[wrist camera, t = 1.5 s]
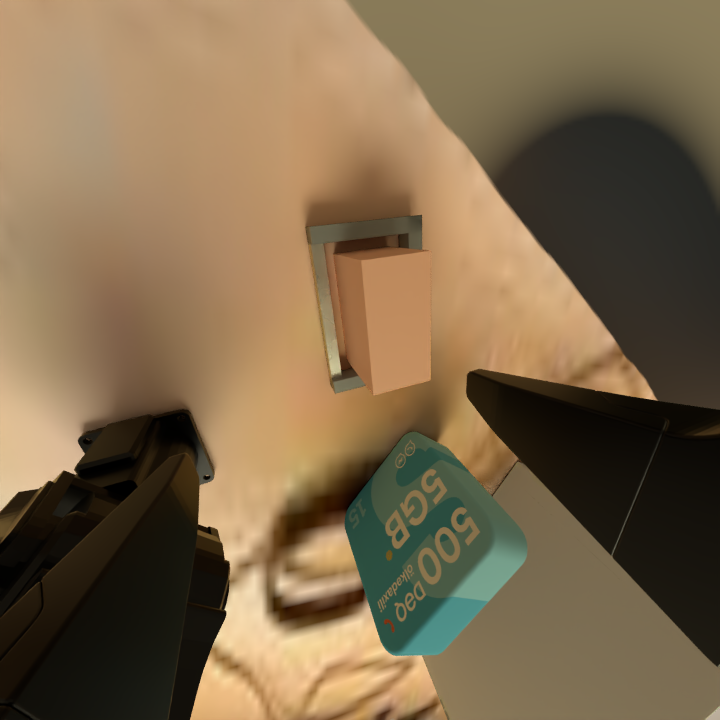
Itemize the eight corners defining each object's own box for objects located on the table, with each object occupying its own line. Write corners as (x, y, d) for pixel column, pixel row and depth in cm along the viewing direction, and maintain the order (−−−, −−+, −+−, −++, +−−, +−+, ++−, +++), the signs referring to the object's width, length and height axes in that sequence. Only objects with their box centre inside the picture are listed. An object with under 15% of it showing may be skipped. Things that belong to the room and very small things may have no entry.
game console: (543, 468, 39) (780, 660, 21) (435, 612, 44) (554, 860, 27) (517, 459, 36) (763, 670, 19) (405, 614, 41) (516, 889, 24)
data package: (411, 423, 28) (504, 535, 18) (440, 439, 30) (539, 547, 20) (339, 516, 30) (387, 668, 19) (372, 524, 32) (431, 666, 21)
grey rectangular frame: (414, 364, 26) (423, 371, 24) (330, 384, 24) (335, 393, 22) (411, 216, 21) (421, 215, 19) (305, 227, 19) (309, 226, 18)
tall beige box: (392, 349, 24) (430, 380, 19) (346, 359, 24) (373, 395, 18) (387, 246, 21) (431, 250, 16) (333, 253, 20) (361, 260, 15)
